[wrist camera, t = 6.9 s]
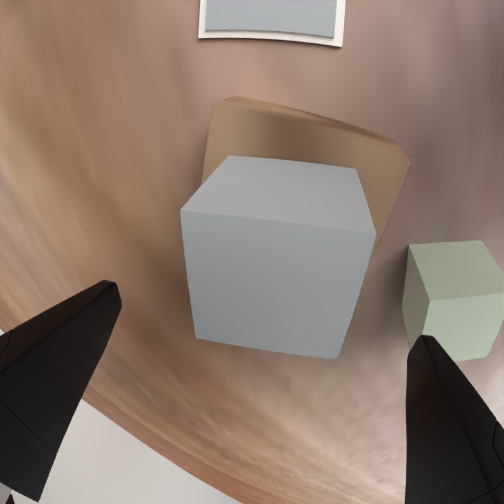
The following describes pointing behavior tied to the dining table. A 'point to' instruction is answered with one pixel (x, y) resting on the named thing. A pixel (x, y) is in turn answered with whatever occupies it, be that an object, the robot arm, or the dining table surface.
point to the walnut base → (308, 147)
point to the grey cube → (277, 254)
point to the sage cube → (454, 297)
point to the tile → (274, 20)
